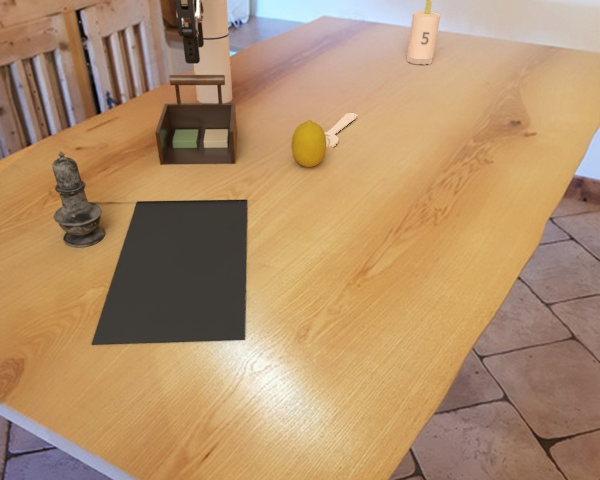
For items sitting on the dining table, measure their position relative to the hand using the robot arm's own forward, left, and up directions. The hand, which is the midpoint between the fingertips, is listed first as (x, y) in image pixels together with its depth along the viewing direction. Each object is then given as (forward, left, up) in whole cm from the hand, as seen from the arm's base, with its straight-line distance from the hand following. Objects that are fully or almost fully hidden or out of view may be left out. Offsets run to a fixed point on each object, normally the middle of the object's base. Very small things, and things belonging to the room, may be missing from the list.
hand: (195, 54), depth 88 cm
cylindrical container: (-4, +18, -14) cm, 23 cm away
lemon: (+20, -7, -14) cm, 26 cm away
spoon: (+22, +8, -14) cm, 28 cm away
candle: (+36, +55, -14) cm, 67 cm away
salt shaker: (-5, -34, -14) cm, 37 cm away
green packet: (-2, -4, -13) cm, 14 cm away
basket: (+1, -5, -14) cm, 15 cm away
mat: (+8, -31, -14) cm, 35 cm away
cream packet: (+3, -2, -13) cm, 14 cm away
